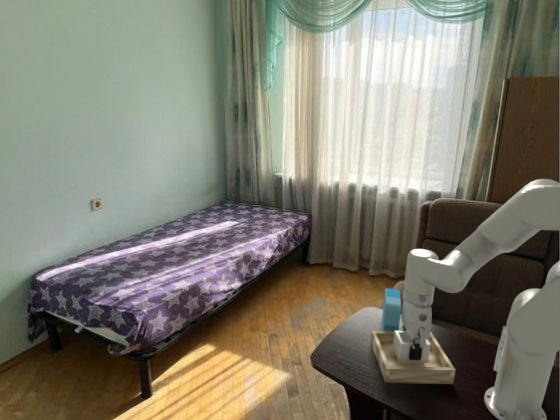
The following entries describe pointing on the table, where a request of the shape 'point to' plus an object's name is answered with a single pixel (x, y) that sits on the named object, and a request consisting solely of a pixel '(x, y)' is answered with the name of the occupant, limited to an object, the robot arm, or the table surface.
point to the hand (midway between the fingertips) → (410, 350)
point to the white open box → (408, 348)
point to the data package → (391, 310)
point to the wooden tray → (420, 373)
